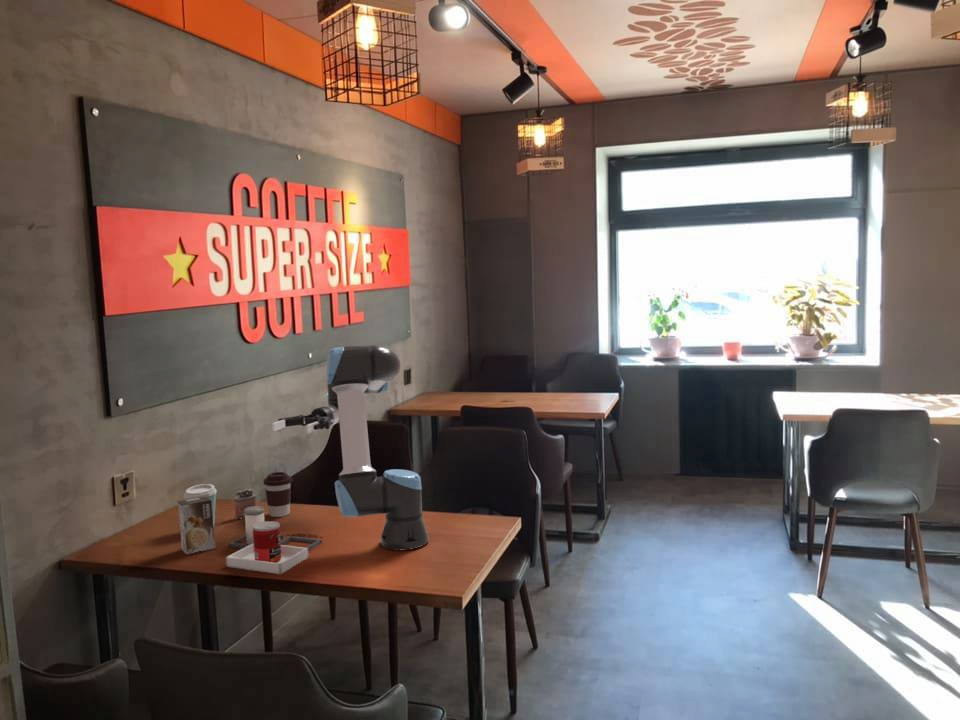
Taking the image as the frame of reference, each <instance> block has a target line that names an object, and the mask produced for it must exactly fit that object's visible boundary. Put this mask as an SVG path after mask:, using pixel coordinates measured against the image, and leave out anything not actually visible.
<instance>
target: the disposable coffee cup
mask: <svg viewBox="0 0 960 720" xmlns="http://www.w3.org/2000/svg"><path fill="white" fill-rule="evenodd" d="M217 492H218V491H217V488H215V485H214V484H212V483H211V484H209V483H205V484H204V483H201V484H196V485H193V486H191V487H188V488H187V489H185V492H184V493H183V497H184V500H187V499H193V498H198V497H204V496H206V497H208V498H209V499H210V500H211V503H212V514H213V527H215V518H216V502H217V501H216V500H217V499H216V498H217Z"/></svg>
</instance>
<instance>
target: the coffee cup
mask: <svg viewBox="0 0 960 720" xmlns="http://www.w3.org/2000/svg"><path fill="white" fill-rule="evenodd" d="M292 481H293V478H292V476H291V475H288V473H287V472H285V471H284V472H283V471H278V472H277V471H276V472H271V473H268V474H267V476H266V477H265V478H263V485H265V496H266V502H267V508H268V514H269V516H270V517H272V518H281V517H286V516H288V515H290V513H291V501H292V500H291V499H292V497H291V496H292V494H291V493H292V489H291V488H292V487H291V484H292Z"/></svg>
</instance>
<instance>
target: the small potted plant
mask: <svg viewBox="0 0 960 720" xmlns="http://www.w3.org/2000/svg"><path fill="white" fill-rule="evenodd" d="M236 496H238V497H236ZM233 501H234V509H235V510H234V512H235V517H234V519H235V518H237V519H240V518H245V514H244V509H246V508H248V507H253V506H257V494H254V489H252V488H250V489H246V488H244V489H243V490H237V491H236V492H235V498H233Z"/></svg>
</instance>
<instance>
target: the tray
mask: <svg viewBox="0 0 960 720" xmlns="http://www.w3.org/2000/svg"><path fill="white" fill-rule="evenodd" d="M307 559H309V551H308V548H306V547H300V546H294V545H293V546H292V545H285V544H283V545H281V560H280V561H278V562H276V563H273V562H266V561H258V560H255V556H254V543H253V544H251V545H249V546H247V547H245V548H240V550H237V551H235V552H234V553H232V554H229V555H227V556H226V557H225V562H226V568H232V569H238V570H239V569H240V570H247V571H253V572H262V573H267V574H268V573H269V574H274V575H275V574H277V575H282V574H284V573H286V572H287V571H288V570H290V569H292V568H293V566H294V567H295V566H297V565H299V564H300V563H301V561H302V562H303V560H304V561H305V560H307ZM298 563H299V564H298ZM296 564H297V565H296Z"/></svg>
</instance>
